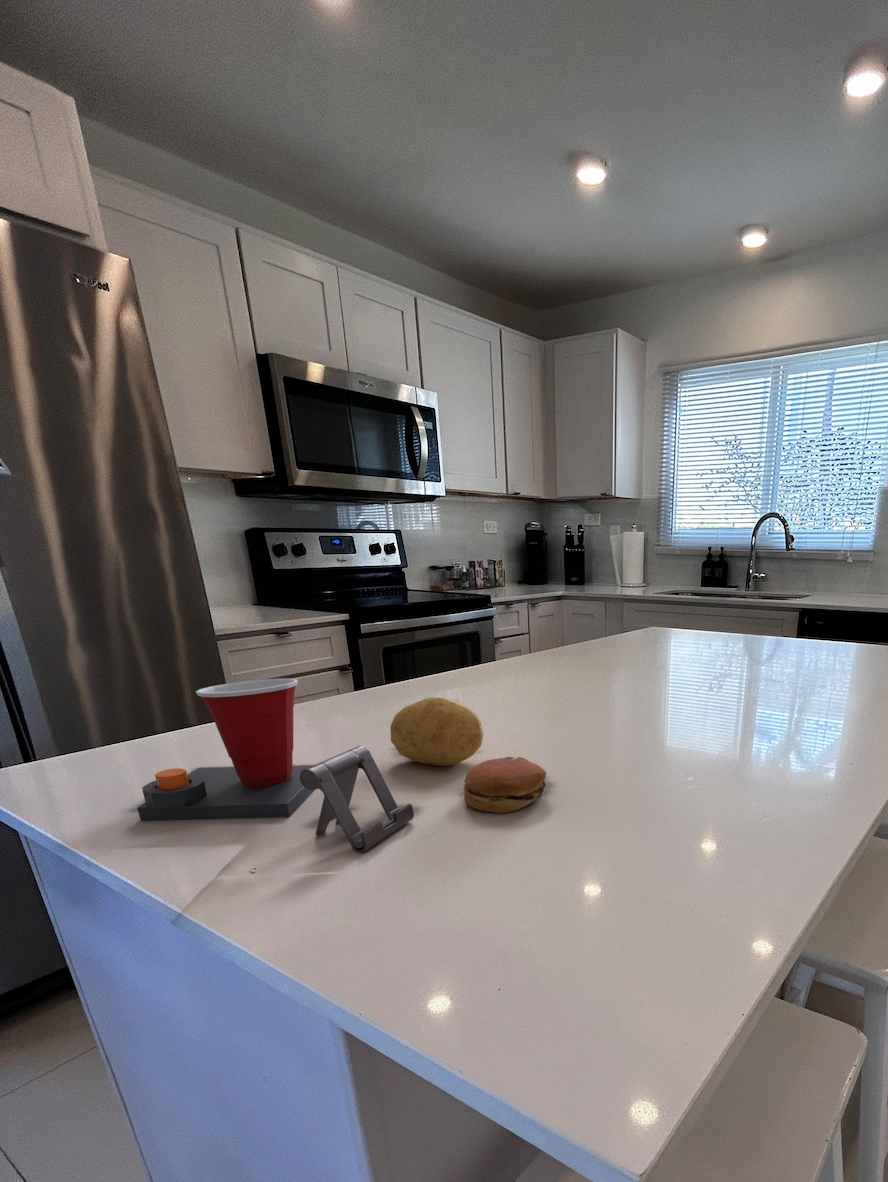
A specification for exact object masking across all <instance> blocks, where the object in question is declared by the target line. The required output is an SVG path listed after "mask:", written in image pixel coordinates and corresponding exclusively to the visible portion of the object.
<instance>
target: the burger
mask: <svg viewBox="0 0 888 1182" xmlns="http://www.w3.org/2000/svg"><path fill="white" fill-rule="evenodd" d="M547 775H548V773H547V771H546V770H545V769H544V768H543V767H541V766H540V765H539V764H537V763H535V762H531V761H529V760H528V759H526V758H524V757H521V756H517V757H515V756H505V757H499V758H493V759H488V760H484V761H482V762H480V763H477V764H476V765H474V766H472V767H471V768H469V771H468V772H466V775H465V777H464V783H463V792H464V797H463V798H464V802H465V804H467V805H468V806H469V807H471V808H473V809H476V810H478V811H483V812H490V813H491V812H492V813H495V814H506V813H512V812H515V811H518V810H521V809H523V808H524V807H526V806H528V805H530V804H531V803H534V802H535V801H537V800H539V799H540V798H541V797H542V795H543V792H545V791H544V789H545V788H546V786H547V784H546V781H545V780H546V777H547Z"/></svg>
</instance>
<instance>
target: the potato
mask: <svg viewBox="0 0 888 1182" xmlns="http://www.w3.org/2000/svg"><path fill="white" fill-rule="evenodd" d="M393 717H394V718H392V721H391V723H390V742H391V743H392V745H393V746H394V748H395V749H396V751H397V752H398V754H399V755H401V756H402V757H404V758H406V759H408V760H410V761H414V762H417V763H420V764H425V765H429V766H435V767H451V766H454V765H457V764H459V763H461V762H464V761H466V760H468V759H470V758H471V757H472V756H474V755H475V754H476V753H477V751H478V750H479V749H480V748H481V746H482V745H483V739H484V731H483V725H482V724H483V723H482V721H481V720H480V718H479V716H478V715H477V713H476V712H474V711H473V710H472V709H470V708H469V707H468V706H465V705H463V704H460V703H458V702H455V701H452V700H449V699H446V698H444V697H433V696H431V697H427V698H424V699H421V700H419V701H415V702H413V703H411V704H408V705H406V706H404V707H403V708H401V709H400V710H399V711H398V712H397V713H395V715H394V716H393Z"/></svg>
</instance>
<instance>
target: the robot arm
mask: <svg viewBox="0 0 888 1182" xmlns="http://www.w3.org/2000/svg"><path fill="white" fill-rule="evenodd" d="M11 479H12V472H11V470H10V469H9V467H7V465H6V463H5V462H4V461H3V459H1V457H0V482H2V481H4V482H7V481H10V480H11ZM0 567H6V564H5V561H4V558H3V554H2V551H1V550H0Z"/></svg>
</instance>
